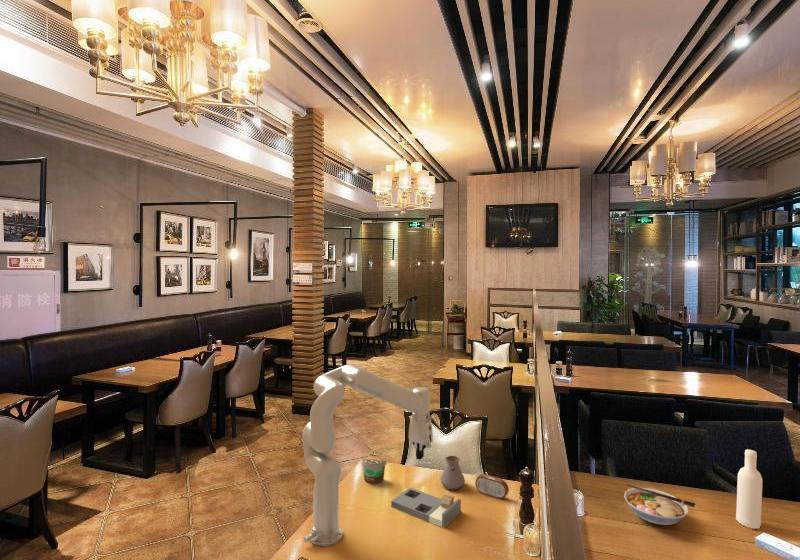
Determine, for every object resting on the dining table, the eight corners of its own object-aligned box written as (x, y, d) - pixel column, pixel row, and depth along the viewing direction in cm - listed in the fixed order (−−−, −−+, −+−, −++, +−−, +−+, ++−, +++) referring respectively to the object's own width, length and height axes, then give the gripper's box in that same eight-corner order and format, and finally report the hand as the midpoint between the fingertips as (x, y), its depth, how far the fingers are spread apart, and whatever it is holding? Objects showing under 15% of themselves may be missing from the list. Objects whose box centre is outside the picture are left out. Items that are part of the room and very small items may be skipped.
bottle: (739, 527, 175) (742, 453, 174) (732, 517, 183) (735, 445, 181) (764, 532, 172) (767, 456, 171) (756, 521, 180) (758, 448, 179)
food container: (358, 483, 208) (358, 463, 208) (361, 477, 214) (361, 457, 214) (383, 486, 206) (384, 465, 206) (386, 479, 212) (386, 459, 212)
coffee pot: (440, 478, 214) (440, 448, 213) (464, 480, 212) (464, 449, 212) (439, 502, 192) (439, 469, 192) (466, 504, 191) (466, 470, 191)
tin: (508, 498, 196) (509, 480, 196) (506, 501, 193) (506, 483, 193) (477, 489, 204) (477, 471, 204) (474, 492, 202) (474, 474, 201)
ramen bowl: (613, 518, 181) (613, 499, 181) (629, 497, 198) (630, 479, 197) (684, 545, 164) (685, 524, 164) (696, 519, 181) (696, 500, 180)
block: (450, 509, 182) (450, 500, 182) (441, 507, 184) (441, 497, 184) (453, 505, 186) (453, 495, 186) (444, 502, 188) (445, 493, 188)
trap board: (444, 528, 174) (444, 514, 174) (391, 506, 189) (391, 494, 189) (460, 511, 185) (460, 498, 185) (409, 492, 200) (409, 480, 200)
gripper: (439, 417, 190) (438, 460, 190) (411, 410, 198) (410, 451, 199) (430, 422, 183) (429, 466, 184) (401, 415, 192) (400, 456, 193)
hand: (419, 458), depth 191 cm, fingers closed
